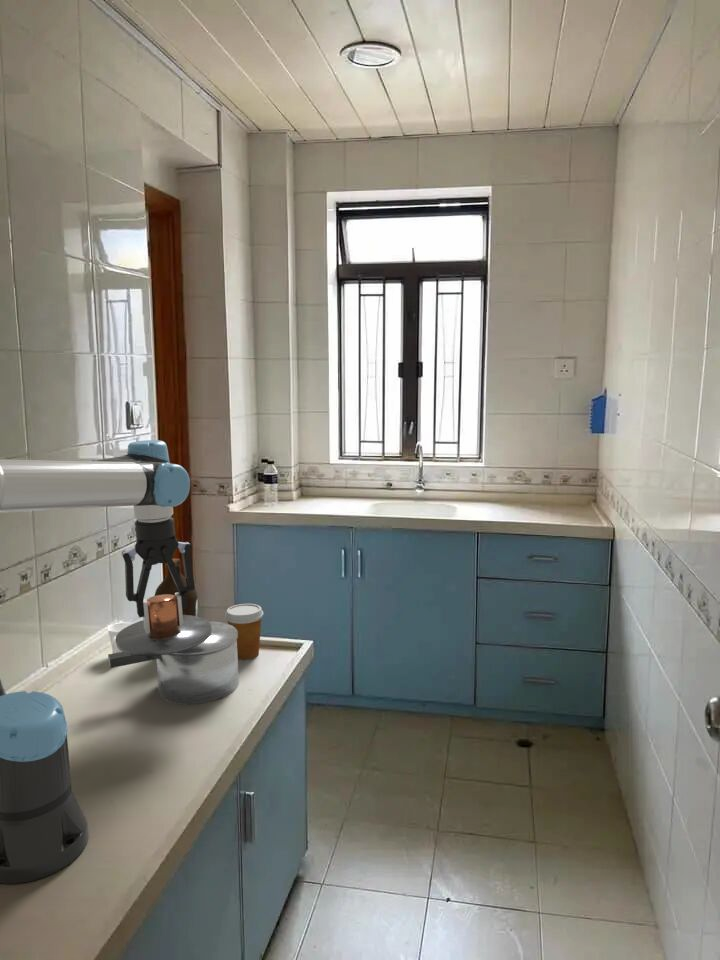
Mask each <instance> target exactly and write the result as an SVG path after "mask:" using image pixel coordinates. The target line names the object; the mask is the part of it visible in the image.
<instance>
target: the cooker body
mask: <svg viewBox="0 0 720 960" xmlns="http://www.w3.org/2000/svg"><path fill="white" fill-rule="evenodd" d="M208 621H209V620H208ZM209 622H210V624H211V629H212V633H211V635H210V637H209V638H208V639H207V640H206V641H204V642H203V643H201V644H199V645H197V646H195V647H193V648H190V649H188V650H184V651H181V652H177V653H172V654H167V655H158V656H138V655H131V654H127V653H124V652H119V653H113V652H112V653H110V654H107V655H108V656H107V659H108V665H109V668H110V669H114V668H118V667H123V666H128V665H134V664H140V663H144V662H149V661H153V660H154V661H155V660H156V671H157V673H156V674H157V685H158V694H159V695H160V697H161V698H162V699H163V700H165V701H167V702H170V703H174V704H179V705H196V704H197V705H198V704H205V703H209V702H213V701H218V700H220V699H222V698H225V697H226V696H228V695H230V694H232V693H234V691H235V690H236V689H237V688H238V686H239V684H240V679H239V678H240V677H239V661H238V660H239V659H238V655H237V638H238V632H237V629H236V628H235V627H233V626H231V625H229V624H228V623H227V622H226V623H225V622H220V621H209Z"/></svg>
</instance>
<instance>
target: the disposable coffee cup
mask: <svg viewBox="0 0 720 960" xmlns="http://www.w3.org/2000/svg"><path fill="white" fill-rule="evenodd" d="M224 616H225V619H226V621H227V624H229V625H231V626H233V627H235V628H236V629H237V632H238V638H237V655H238V660H250V659H253V658H256V657H257V656H259V654H260V643H261V642H260V641H261V640H260V639H261V631H262V630H261V629H262V618H263V616H264V611H263V609H262V607H261V605H258V604H255V603H241V604H239V603H238V604H236V605H232V606H230V607H228V608H227V610H226V612H225V615H224Z"/></svg>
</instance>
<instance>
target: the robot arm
mask: <svg viewBox="0 0 720 960" xmlns="http://www.w3.org/2000/svg"><path fill="white" fill-rule="evenodd" d="M126 453H127V454H124V455H121V456H120V455H119V456H115V457H108V458H102V459H92V460H55V459H53V460H52V459H51V460H49V459H47V460H45V459H35V460H34V459H2V458H0V513H18V512H19V513H21V512H35V511H37V512H38V511H55V510H56V511H57V510H74V509H75V510H77V509H94V508H95V509H96V508H113V507H132V506H133V516H134V518H135V519H136V520H135V521H134V527H135V529H134V530H135V539H136V540H135V541H136V542H135V544H134V548H131V549H129V550H122V551H121V557H122V558H123V562H124V571H125V572H124V577H125V597H126V599H127V601H128V602H135V603H136V613H137V616H138V618H142V619H143V621H144V630H145V632H146V634H147V633H150V624H149V613H148V603H147V599H146V598H145V595H146V591H147V587H148V582H149V579H150V574H151V570H152V567H153V566H155V565H158V564H166V567H167V566H168V568H169V571H170V573H171V575H172V577H173V580H174V582H175V584H176V587H177V589H178V591H179V593H175V596H176V598H177V609H178V621H179V626H180V627H183V614H182V610H183V609H186V608H187V600H186V595H187V592H189V591H192V590H194V589H196V587H195V580H194V573H193V567H192V559H191V552H192V544H191V543H189V542H188V541H184V542H183V541H178V540H177V538H176V530H175V518H174V517H172V516H173V515H174V507H177V506H180V505H181V504H183V502H185V501H186V499H187V498H188V496H189V493H190V489H191V488H190V487H191V480H190V475H189V473H188V472H187V470H186V469H185V468H184V467H183V466H182V465H180V464H176V463H171V461H170V456H169V450H168V446H167V443H166V442H165V441H163V440H158V439H157V440H156V439H149V440H148V439H147V440H146V439H145V440H136V441H132V442H130V443H129V444H127V452H126ZM177 549H178V551H179V552H180V554H181V560H182V564H183V566H182V567H183V570H184V577H185V579H186V584H185V585H183V583H182V581H181V578H180V576H179V574H178V571H177V569H176V567H175V564H174V562H173V560H172V559H173V558H172V557H173V556H174V554H175V553H176V551H177ZM136 555H138V556H139V557H140V558H141V559H142V565H141V571H140V576H139V578H138V584H137V587H136V592H135V591H134V565H133V561H135V559H136ZM68 729H69V728H68V723H67V720H66V717H65V711H64V707H63V705H62V703H61V702H60V701H59V700H58V698H56V697H54V696H52V695H50V694H49V693H45V692H40V691H35V690H34V691H31V692H27V691H25V690H23V691H21V690H20V691H16V692H11V693H10V692H9V693H7V692H6V690H5V688H4V685H3V683H2V679H0V883H1V884H7V885H8V884H11V885H12V884H23V883H28V882H33V881H37V880H39V879H43V878H45V877H48V876H51V875H52V874H54V873H57V872H59V871H60V870H62V869H64V868H65V867H66V866H68V865H69V864H71V863H72V862H74V861H75V860H76V859H77V858H78V857H79V856H80V855H81V854H82V852H83V851H84V849H86V847H87V844H88V841H89V827H88V821H87V817H86V815H85V814H84V812H83V810H82V808H81V805H80V804H79V801H78V799H77V798H76V795H75V794H74V792H73V789H72V788H73V787H72V778H71V765H70V764H71V763H70V755H69V754H70V753H69V746H68V745H69V742H68Z"/></svg>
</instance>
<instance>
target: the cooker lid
mask: <svg viewBox="0 0 720 960" xmlns="http://www.w3.org/2000/svg"><path fill="white" fill-rule="evenodd" d="M146 600H147V603H148V613H149V624H150V633H147V634H146V632H145V630H144V621H143V620H140V621H137V622H133V623H134V624H131V625H129V626H127V627H126V628H124V629H122V630H121V631H120V632H119V633H118V634H117V636H116V646H117V648H118V649H119V650H120V651H122V652H124V653H127V654H131V655H138V656H158V655H167V654H172V653H177V652H181V651H184V650H188V649H190V648H193V647H195V646H197V645H199V644H201V643H203V642H204V641H206V640H207V639H208V638H209V637H210V635H211V633H212V629H211V624H210V622H211V621H210V622H209V620H208V619H206V618H204V617H200V616H198V617H197V616H191V615H183V627H180V626H179V621H178V609H177V598H176V596H174V595H170V594H163V595H157V596H155V595H153V596H149V598H147V599H146Z"/></svg>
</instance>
